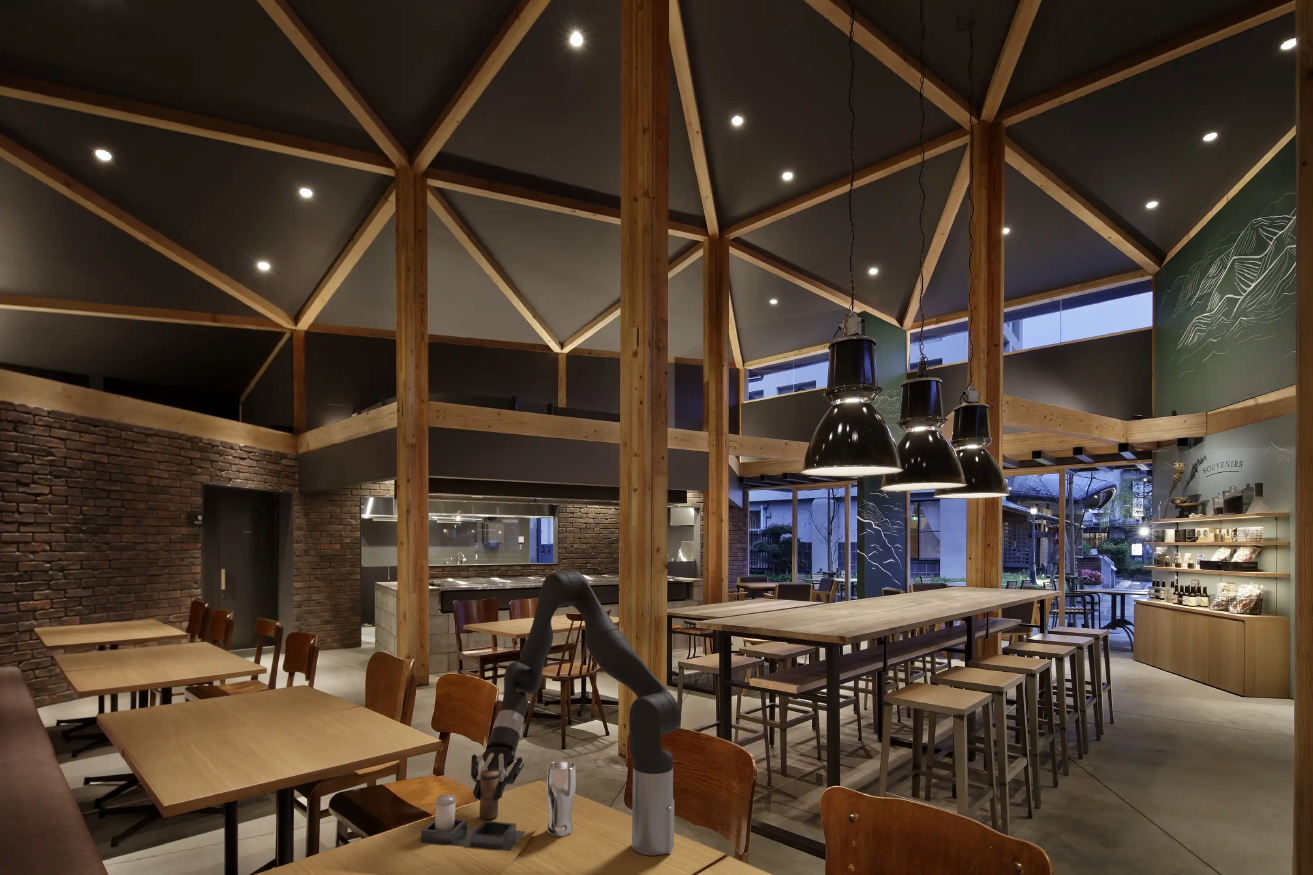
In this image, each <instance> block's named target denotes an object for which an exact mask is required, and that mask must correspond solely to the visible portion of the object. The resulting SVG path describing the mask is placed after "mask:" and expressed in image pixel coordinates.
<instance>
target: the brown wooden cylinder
mask: <svg viewBox="0 0 1313 875" xmlns="http://www.w3.org/2000/svg"><path fill="white" fill-rule="evenodd" d="M480 772H481V771H480ZM499 781H500V780H499V771H498V770H493V769H492V770H485V771H482V772H481V786H480V799H479V819H483V820H491V819H494V818H497V817H498V816H499V801H495V799H494V793H495V790H496V787H497V783H498V782H499Z"/></svg>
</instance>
